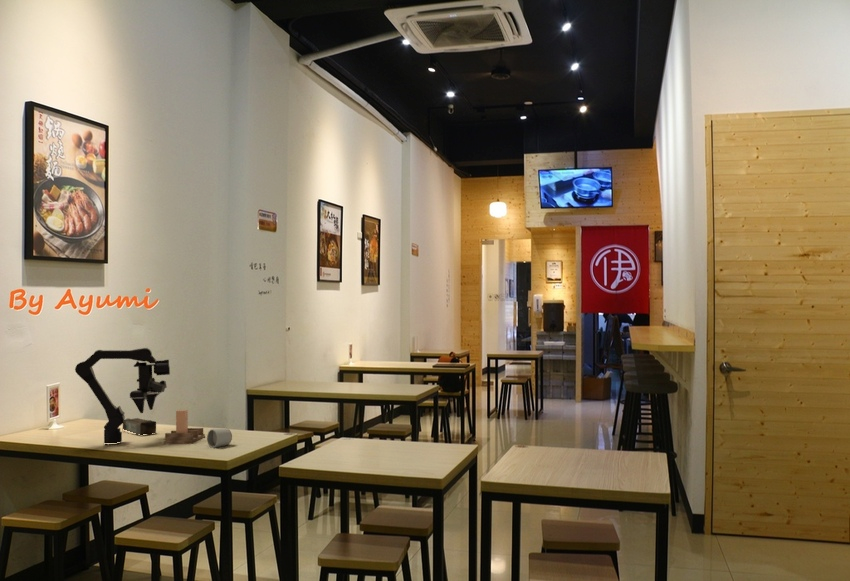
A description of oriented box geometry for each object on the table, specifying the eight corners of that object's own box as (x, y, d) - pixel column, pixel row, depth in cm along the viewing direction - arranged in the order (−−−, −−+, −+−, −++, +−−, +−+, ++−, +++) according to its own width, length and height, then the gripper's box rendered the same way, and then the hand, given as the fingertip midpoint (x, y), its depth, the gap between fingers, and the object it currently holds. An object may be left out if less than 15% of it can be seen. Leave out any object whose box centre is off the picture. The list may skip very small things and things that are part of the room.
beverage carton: (138, 429, 338) (138, 416, 338) (157, 434, 325) (157, 420, 325) (122, 432, 332) (121, 418, 332) (140, 437, 319) (140, 422, 319)
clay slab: (176, 439, 304) (176, 410, 304) (179, 438, 307) (178, 409, 307) (185, 439, 304) (184, 410, 304) (187, 438, 307) (187, 409, 307)
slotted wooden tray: (163, 443, 301) (163, 434, 301) (179, 436, 317) (178, 427, 317) (190, 443, 300) (190, 434, 300) (204, 436, 316) (204, 427, 316)
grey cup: (233, 445, 295) (233, 427, 295) (217, 448, 288) (216, 430, 289) (218, 443, 301) (218, 425, 302) (202, 446, 295) (201, 428, 295)
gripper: (153, 378, 299) (155, 414, 299) (171, 373, 317) (172, 407, 317) (128, 378, 299) (129, 415, 299) (148, 374, 318) (149, 408, 318)
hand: (146, 411), depth 308 cm, fingers open, 9 cm apart
